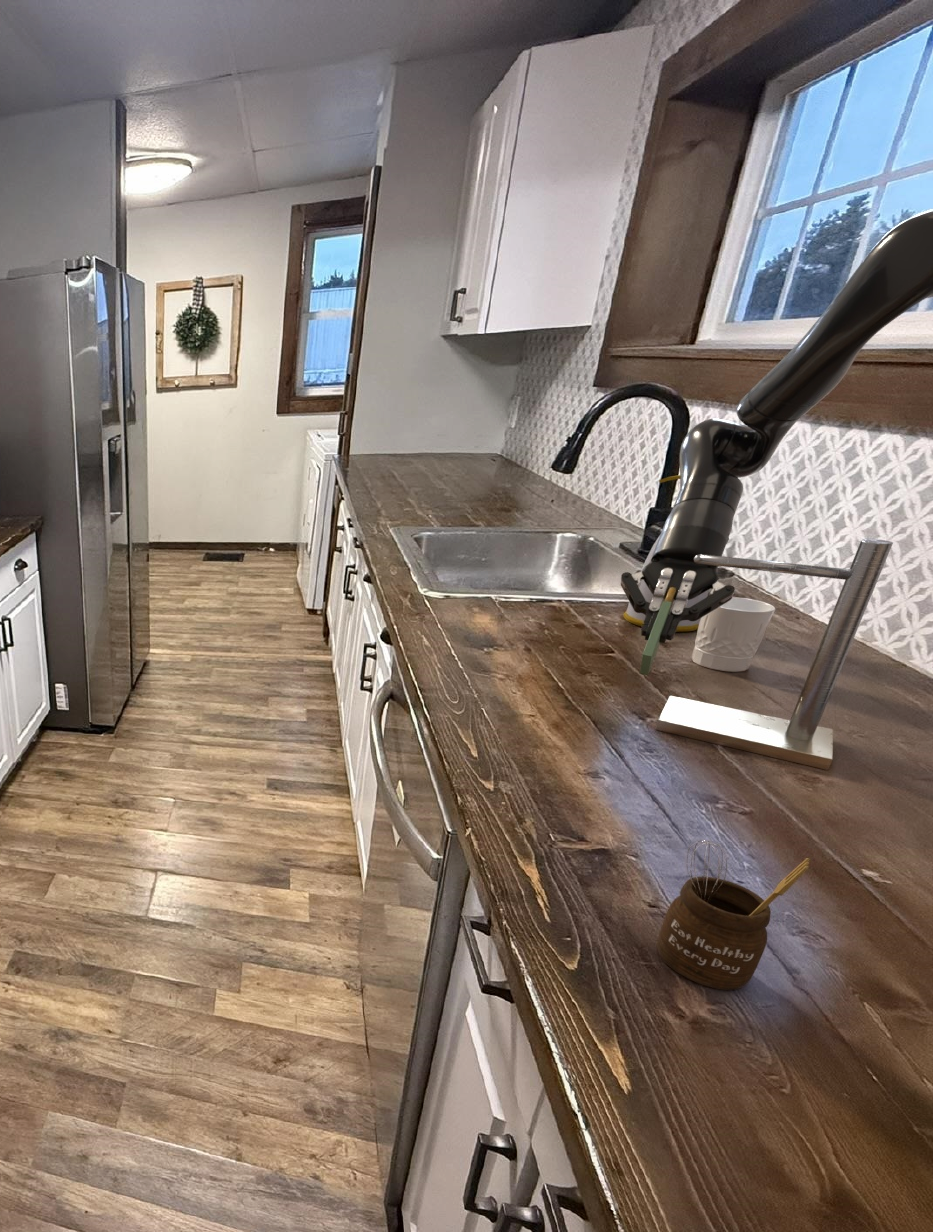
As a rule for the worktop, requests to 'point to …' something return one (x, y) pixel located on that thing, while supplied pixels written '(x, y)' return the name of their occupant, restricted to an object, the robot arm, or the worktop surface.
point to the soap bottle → (640, 617)
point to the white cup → (732, 634)
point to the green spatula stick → (657, 632)
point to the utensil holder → (718, 928)
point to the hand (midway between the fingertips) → (655, 638)
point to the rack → (802, 732)
